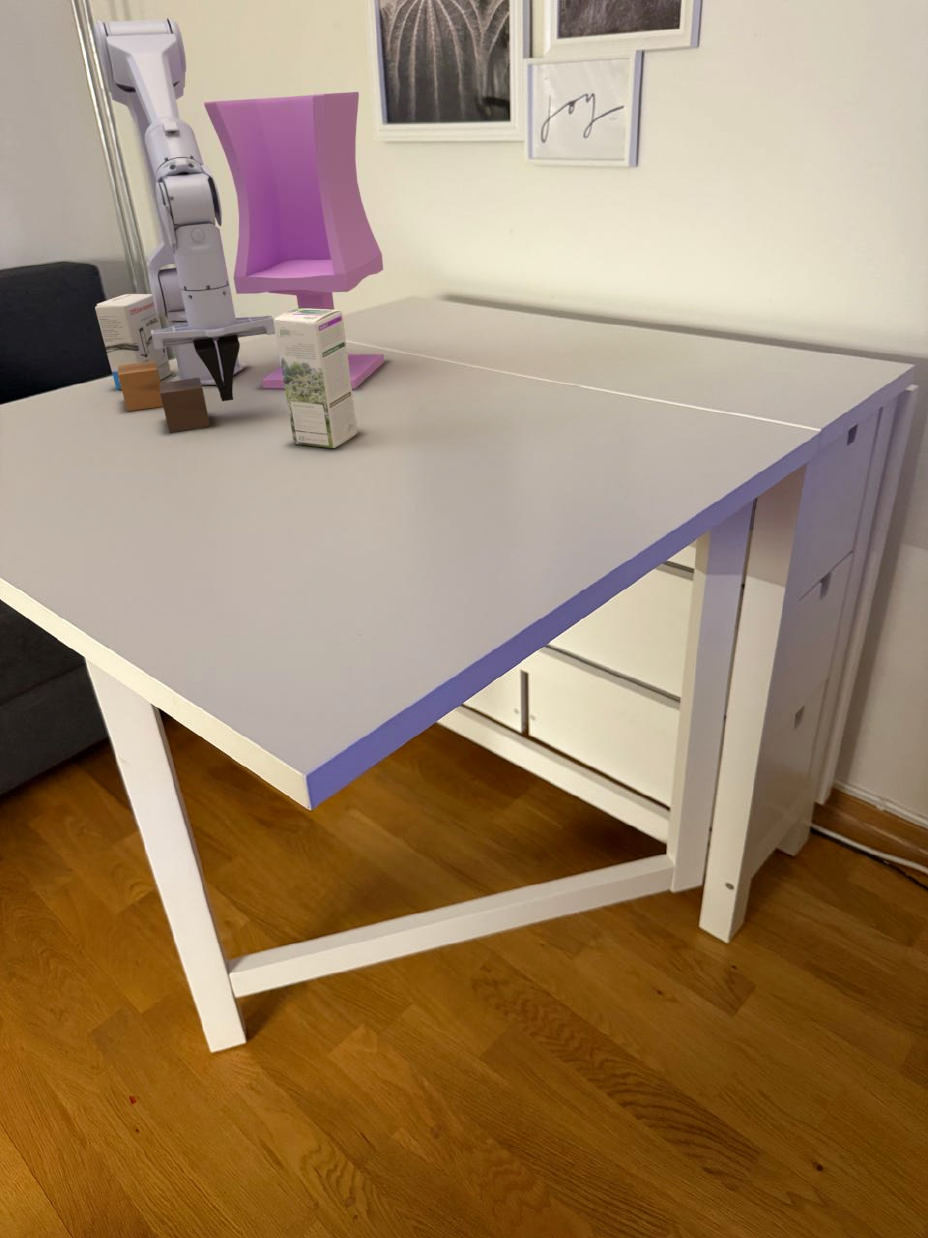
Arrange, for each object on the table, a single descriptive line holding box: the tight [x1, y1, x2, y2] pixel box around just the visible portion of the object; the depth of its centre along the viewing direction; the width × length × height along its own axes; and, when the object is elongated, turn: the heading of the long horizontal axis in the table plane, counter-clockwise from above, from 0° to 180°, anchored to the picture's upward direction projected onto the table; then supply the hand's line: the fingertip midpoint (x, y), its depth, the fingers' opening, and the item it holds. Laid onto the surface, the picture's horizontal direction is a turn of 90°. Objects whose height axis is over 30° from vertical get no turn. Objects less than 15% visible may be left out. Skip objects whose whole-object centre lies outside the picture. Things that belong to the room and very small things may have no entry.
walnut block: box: [159, 378, 211, 434], centre depth 113 cm, size 5×5×5 cm
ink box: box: [94, 293, 172, 390], centre depth 130 cm, size 9×5×12 cm, turn 168°
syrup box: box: [273, 308, 358, 449], centre depth 102 cm, size 6×6×14 cm
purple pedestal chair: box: [203, 91, 385, 390], centre depth 121 cm, size 16×16×35 cm
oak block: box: [118, 361, 163, 412], centre depth 121 cm, size 5×5×5 cm
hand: (226, 398), depth 114 cm, fingers closed
